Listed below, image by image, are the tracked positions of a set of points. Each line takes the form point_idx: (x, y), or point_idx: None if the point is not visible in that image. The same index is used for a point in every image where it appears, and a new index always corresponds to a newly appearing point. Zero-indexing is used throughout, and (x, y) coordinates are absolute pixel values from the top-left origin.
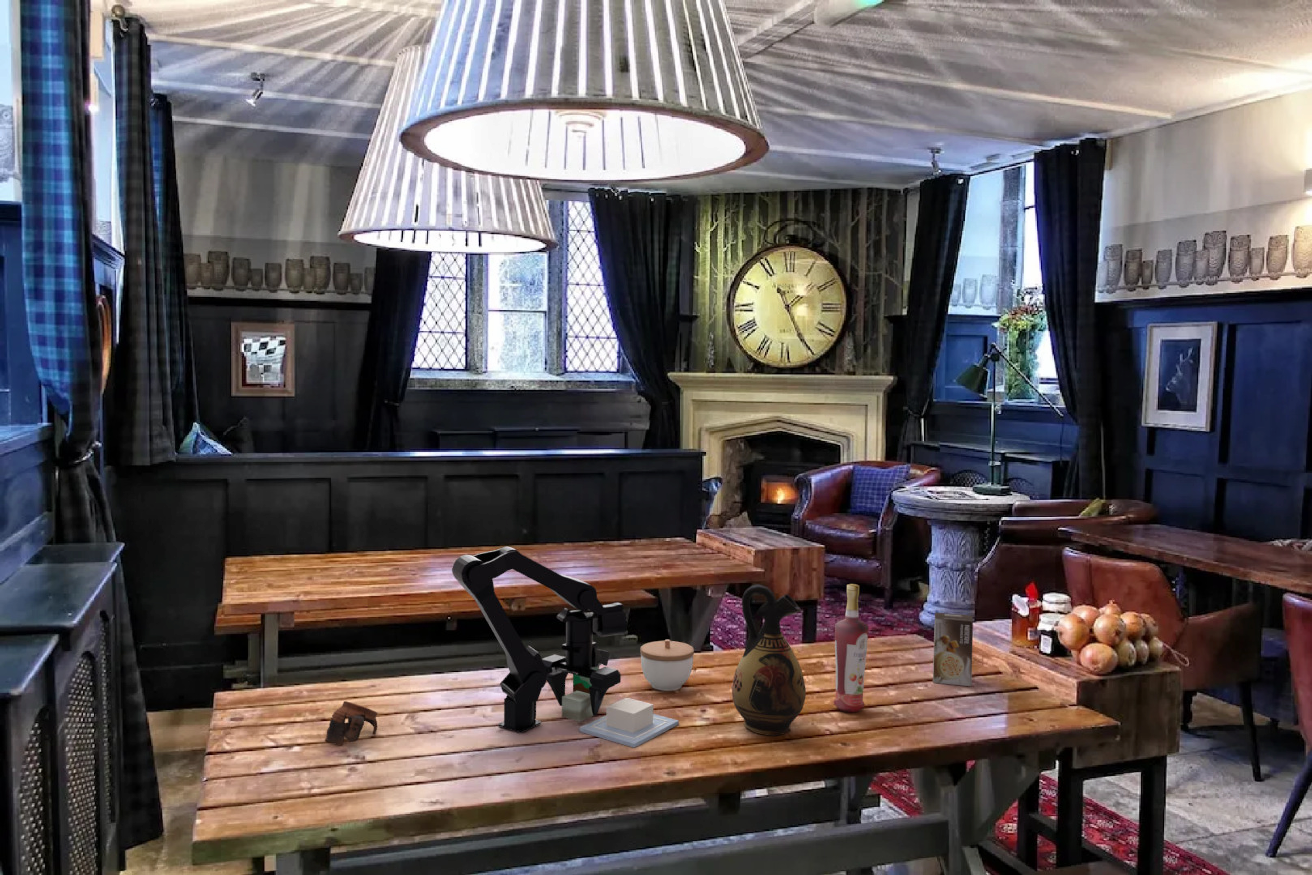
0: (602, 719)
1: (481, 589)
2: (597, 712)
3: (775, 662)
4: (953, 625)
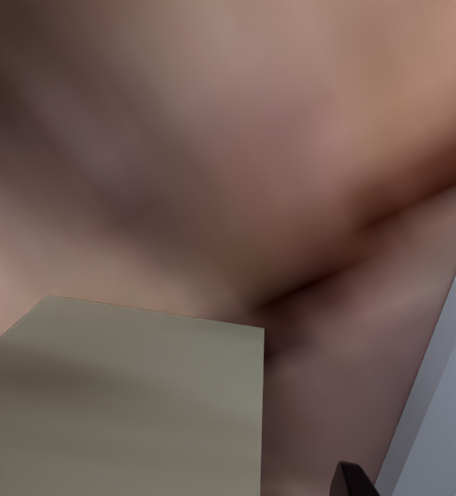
0: (435, 483)
1: None
2: (367, 484)
3: None
4: None
